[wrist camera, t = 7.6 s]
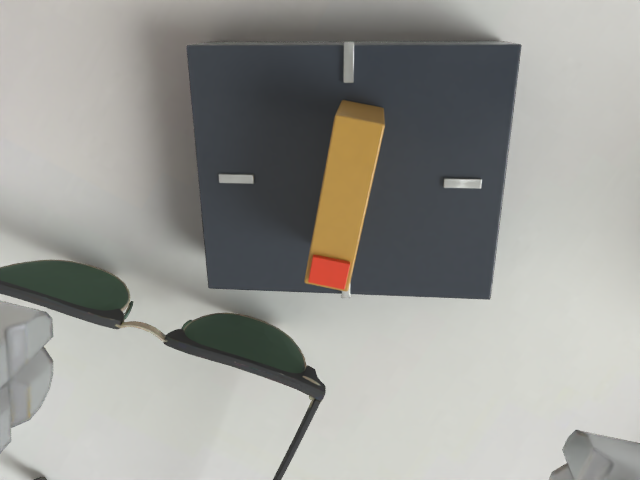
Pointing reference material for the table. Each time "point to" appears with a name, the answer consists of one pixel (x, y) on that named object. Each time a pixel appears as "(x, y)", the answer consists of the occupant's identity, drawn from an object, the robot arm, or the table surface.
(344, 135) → the yellow block
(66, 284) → the sunglasses
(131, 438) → the table surface
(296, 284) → the dark grey square block
